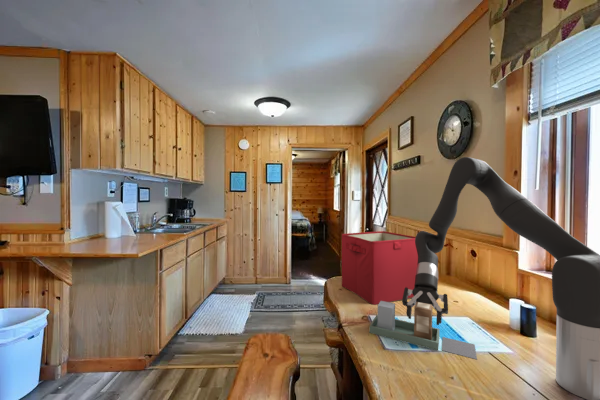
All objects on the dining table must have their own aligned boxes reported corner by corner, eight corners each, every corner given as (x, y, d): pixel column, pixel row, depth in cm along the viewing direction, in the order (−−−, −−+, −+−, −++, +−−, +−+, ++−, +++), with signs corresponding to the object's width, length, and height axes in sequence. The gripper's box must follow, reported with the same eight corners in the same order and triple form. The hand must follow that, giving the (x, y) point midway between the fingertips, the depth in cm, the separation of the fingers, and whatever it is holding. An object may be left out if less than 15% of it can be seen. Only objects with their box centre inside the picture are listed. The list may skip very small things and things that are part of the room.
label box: (432, 337, 89) (432, 304, 89) (430, 345, 84) (431, 310, 84) (415, 333, 91) (416, 301, 91) (413, 340, 86) (414, 306, 86)
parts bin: (439, 337, 90) (439, 328, 90) (438, 352, 81) (438, 343, 81) (376, 322, 100) (376, 314, 100) (369, 333, 91) (369, 325, 91)
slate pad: (474, 346, 84) (474, 344, 84) (477, 361, 77) (477, 359, 77) (442, 338, 89) (442, 336, 89) (441, 352, 81) (441, 350, 81)
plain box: (394, 328, 95) (395, 303, 94) (392, 334, 90) (392, 308, 90) (380, 325, 97) (380, 300, 97) (377, 330, 93) (377, 305, 93)
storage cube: (369, 307, 114) (370, 240, 114) (337, 287, 140) (337, 232, 140) (424, 297, 126) (425, 237, 126) (386, 280, 152) (386, 230, 152)
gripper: (405, 269, 99) (399, 311, 89) (448, 275, 92) (447, 321, 82) (406, 279, 103) (401, 320, 93) (448, 286, 96) (447, 331, 86)
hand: (423, 320), depth 88 cm, fingers open, 8 cm apart
